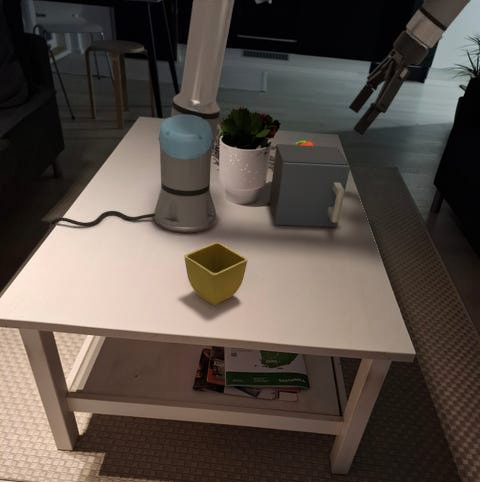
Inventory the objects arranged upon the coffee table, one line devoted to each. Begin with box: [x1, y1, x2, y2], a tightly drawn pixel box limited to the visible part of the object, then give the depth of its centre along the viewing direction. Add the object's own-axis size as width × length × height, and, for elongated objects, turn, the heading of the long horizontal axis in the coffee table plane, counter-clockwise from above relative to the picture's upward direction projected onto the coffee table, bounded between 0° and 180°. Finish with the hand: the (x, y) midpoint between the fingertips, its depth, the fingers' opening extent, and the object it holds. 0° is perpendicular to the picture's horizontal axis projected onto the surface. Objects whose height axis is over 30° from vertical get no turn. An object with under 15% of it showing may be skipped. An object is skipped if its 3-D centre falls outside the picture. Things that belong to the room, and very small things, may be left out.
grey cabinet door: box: [274, 162, 351, 228], centre depth 114 cm, size 6×16×16 cm, turn 94°
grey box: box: [268, 143, 350, 222], centre depth 121 cm, size 12×16×16 cm
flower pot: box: [183, 241, 248, 306], centre depth 91 cm, size 9×9×9 cm
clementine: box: [293, 140, 315, 146], centre depth 154 cm, size 8×7×7 cm
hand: (355, 120), depth 119 cm, fingers open, 13 cm apart
